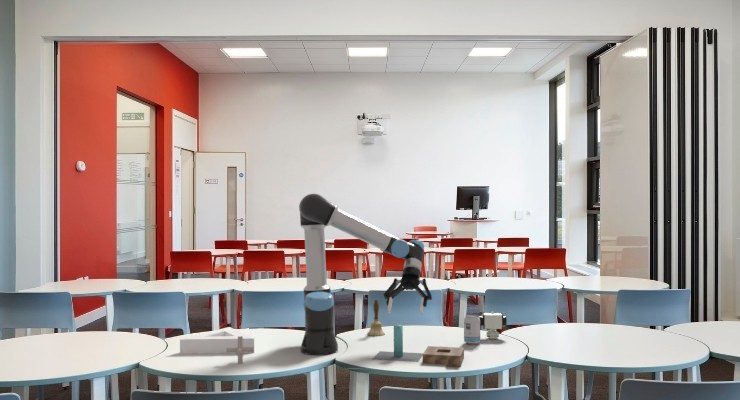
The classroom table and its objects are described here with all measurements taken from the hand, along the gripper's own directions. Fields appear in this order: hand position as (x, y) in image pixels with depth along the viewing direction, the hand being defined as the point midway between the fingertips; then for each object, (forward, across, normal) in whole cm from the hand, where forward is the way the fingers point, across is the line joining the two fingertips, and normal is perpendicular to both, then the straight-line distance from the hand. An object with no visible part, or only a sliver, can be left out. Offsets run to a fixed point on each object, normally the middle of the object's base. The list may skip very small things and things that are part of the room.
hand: (404, 312), depth 259 cm
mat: (+19, 0, -3) cm, 20 cm away
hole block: (+20, -18, -2) cm, 27 cm away
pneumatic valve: (-12, -32, -37) cm, 50 cm away
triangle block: (+18, +78, -4) cm, 80 cm away
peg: (+19, 0, -3) cm, 19 cm away
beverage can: (-3, -24, -27) cm, 37 cm away
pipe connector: (+35, +56, +15) cm, 68 cm away
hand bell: (-10, +21, -33) cm, 41 cm away
